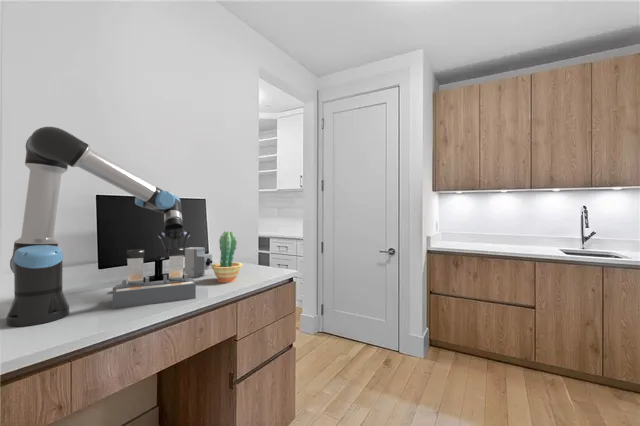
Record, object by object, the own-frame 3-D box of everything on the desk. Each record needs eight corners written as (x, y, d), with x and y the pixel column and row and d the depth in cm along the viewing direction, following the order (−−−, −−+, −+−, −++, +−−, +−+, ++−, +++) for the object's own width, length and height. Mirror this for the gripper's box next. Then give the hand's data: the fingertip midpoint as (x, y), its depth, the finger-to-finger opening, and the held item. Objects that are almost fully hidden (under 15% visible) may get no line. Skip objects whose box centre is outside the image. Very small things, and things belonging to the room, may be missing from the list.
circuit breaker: (207, 277, 160) (207, 249, 160) (183, 276, 163) (183, 248, 163) (214, 274, 167) (214, 247, 167) (191, 273, 170) (191, 247, 170)
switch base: (112, 308, 110) (112, 284, 110) (116, 300, 120) (116, 277, 120) (195, 298, 123) (195, 276, 123) (192, 291, 134) (192, 270, 134)
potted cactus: (247, 278, 160) (248, 230, 160) (232, 285, 145) (232, 232, 145) (221, 276, 164) (222, 230, 164) (204, 282, 149) (204, 232, 149)
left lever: (127, 287, 116) (126, 253, 110) (127, 282, 118) (126, 248, 112) (144, 285, 118) (143, 252, 113) (144, 280, 121) (144, 247, 115)
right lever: (168, 283, 122) (169, 251, 117) (167, 278, 125) (168, 246, 119) (183, 281, 125) (184, 250, 119) (182, 276, 128) (184, 245, 122)
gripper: (188, 227, 144) (193, 268, 130) (157, 228, 138) (158, 271, 123) (189, 216, 139) (194, 258, 125) (157, 217, 133) (158, 261, 119)
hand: (176, 265), depth 124 cm, fingers closed
